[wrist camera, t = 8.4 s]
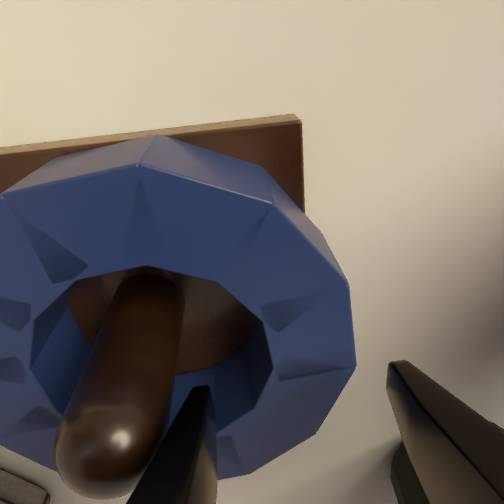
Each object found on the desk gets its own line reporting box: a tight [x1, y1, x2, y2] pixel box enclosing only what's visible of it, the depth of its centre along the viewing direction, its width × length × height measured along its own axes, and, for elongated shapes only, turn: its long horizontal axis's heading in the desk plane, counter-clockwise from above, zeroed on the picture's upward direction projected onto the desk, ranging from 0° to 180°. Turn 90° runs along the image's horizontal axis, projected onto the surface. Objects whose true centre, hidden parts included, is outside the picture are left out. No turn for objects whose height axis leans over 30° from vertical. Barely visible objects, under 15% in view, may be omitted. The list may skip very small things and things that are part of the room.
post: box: [0, 114, 305, 500], centre depth 11 cm, size 11×11×8 cm
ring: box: [0, 135, 357, 480], centre depth 12 cm, size 11×11×3 cm
